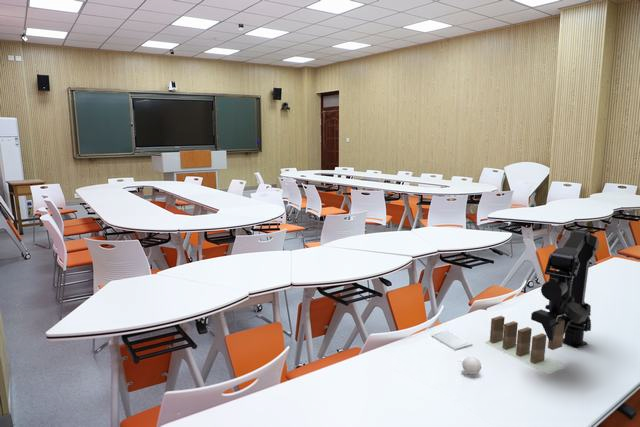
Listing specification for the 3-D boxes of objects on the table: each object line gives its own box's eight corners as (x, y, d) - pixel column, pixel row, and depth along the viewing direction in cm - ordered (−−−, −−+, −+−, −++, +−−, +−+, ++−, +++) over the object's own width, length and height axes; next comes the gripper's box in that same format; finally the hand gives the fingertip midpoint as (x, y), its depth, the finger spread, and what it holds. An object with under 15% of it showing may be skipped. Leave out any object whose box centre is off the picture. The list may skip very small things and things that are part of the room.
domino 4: (530, 361, 149) (532, 336, 147) (539, 358, 151) (542, 333, 149) (534, 364, 147) (536, 338, 146) (544, 360, 150) (546, 335, 148)
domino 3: (515, 354, 153) (517, 330, 152) (525, 351, 156) (527, 327, 154) (519, 356, 152) (522, 331, 150) (529, 353, 154) (531, 328, 153)
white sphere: (483, 373, 142) (484, 357, 141) (475, 380, 138) (476, 363, 137) (461, 364, 147) (462, 348, 146) (452, 371, 144) (453, 354, 143)
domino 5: (547, 348, 143) (550, 321, 141) (557, 344, 145) (560, 318, 143) (552, 350, 141) (555, 323, 140) (562, 346, 144) (565, 320, 142)
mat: (501, 337, 167) (501, 336, 167) (565, 368, 145) (565, 367, 145) (484, 343, 163) (484, 342, 162) (547, 375, 141) (548, 374, 141)
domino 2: (502, 348, 158) (504, 324, 156) (511, 344, 160) (513, 321, 159) (506, 350, 157) (508, 325, 155) (515, 346, 159) (517, 322, 157)
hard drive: (431, 334, 167) (455, 348, 156) (448, 330, 171) (472, 343, 160) (431, 338, 167) (455, 353, 156) (447, 334, 171) (472, 347, 160)
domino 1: (489, 341, 163) (491, 318, 161) (499, 338, 165) (500, 315, 164) (493, 343, 161) (495, 320, 160) (502, 340, 164) (504, 317, 162)
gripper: (566, 305, 128) (561, 356, 131) (604, 294, 137) (598, 341, 140) (532, 293, 138) (527, 341, 141) (569, 283, 147) (564, 328, 150)
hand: (555, 338), depth 143 cm, fingers closed on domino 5, 5 cm apart
